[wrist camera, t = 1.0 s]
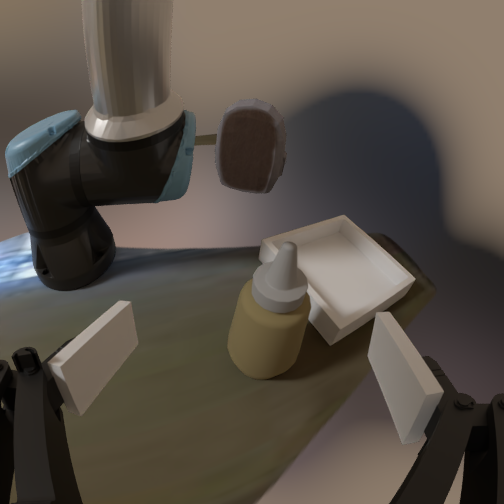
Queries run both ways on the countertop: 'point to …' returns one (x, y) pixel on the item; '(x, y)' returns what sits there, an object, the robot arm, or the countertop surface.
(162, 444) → the countertop surface
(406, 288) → the box
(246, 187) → the small grey backpack
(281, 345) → the squeeze bottle
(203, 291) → the countertop surface
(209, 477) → the countertop surface
